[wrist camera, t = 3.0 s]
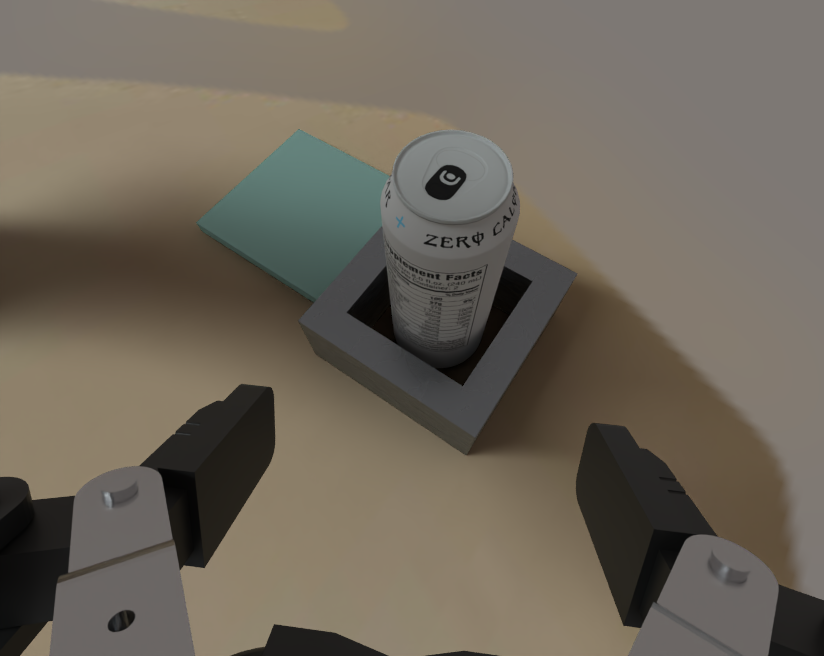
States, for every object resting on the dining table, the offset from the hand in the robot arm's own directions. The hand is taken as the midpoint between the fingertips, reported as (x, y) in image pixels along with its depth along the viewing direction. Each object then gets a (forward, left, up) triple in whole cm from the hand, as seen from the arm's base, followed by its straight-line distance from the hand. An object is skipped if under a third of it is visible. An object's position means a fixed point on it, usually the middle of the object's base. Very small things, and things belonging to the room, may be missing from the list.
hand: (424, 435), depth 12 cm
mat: (-19, +13, -17) cm, 29 cm away
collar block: (-5, +10, -17) cm, 20 cm away
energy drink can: (-5, +10, -17) cm, 20 cm away
